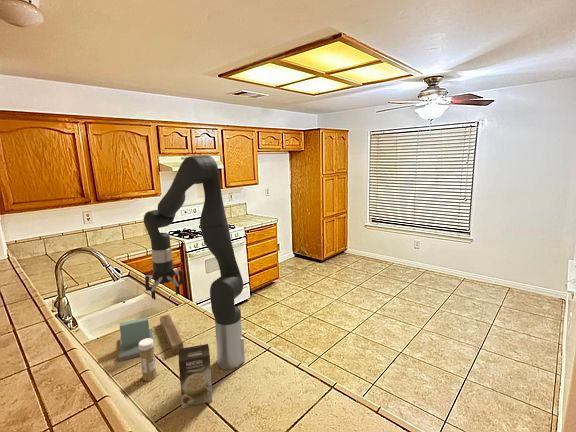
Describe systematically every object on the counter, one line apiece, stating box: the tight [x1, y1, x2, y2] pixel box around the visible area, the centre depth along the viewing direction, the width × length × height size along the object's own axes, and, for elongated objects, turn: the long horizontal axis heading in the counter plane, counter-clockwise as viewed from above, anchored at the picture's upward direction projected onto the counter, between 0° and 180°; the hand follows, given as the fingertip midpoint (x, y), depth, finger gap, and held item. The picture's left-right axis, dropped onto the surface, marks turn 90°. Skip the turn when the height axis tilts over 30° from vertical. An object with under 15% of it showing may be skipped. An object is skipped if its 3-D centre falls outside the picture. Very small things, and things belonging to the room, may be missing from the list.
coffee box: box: [178, 343, 213, 409], centre depth 92 cm, size 9×6×16 cm
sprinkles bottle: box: [138, 338, 157, 382], centre depth 101 cm, size 5×5×14 cm
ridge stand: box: [117, 316, 155, 362], centre depth 119 cm, size 12×16×10 cm
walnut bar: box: [159, 314, 184, 356], centre depth 125 cm, size 4×26×4 cm, turn 32°
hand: (165, 296), depth 122 cm, fingers open, 8 cm apart
